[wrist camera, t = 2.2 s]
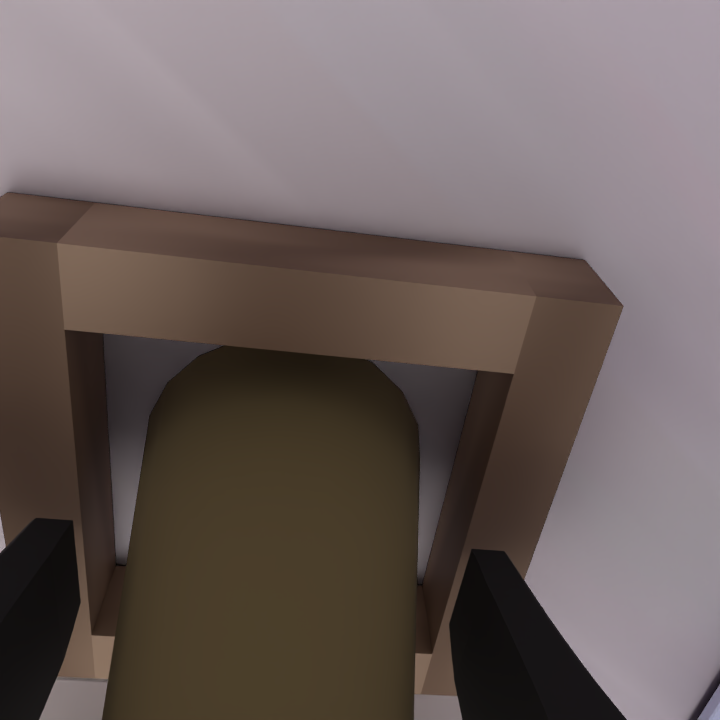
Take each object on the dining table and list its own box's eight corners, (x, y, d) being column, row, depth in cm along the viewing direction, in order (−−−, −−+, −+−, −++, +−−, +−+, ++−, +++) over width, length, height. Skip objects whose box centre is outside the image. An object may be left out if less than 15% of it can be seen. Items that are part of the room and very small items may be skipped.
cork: (99, 373, 14) (-378, 1239, 5) (387, 304, 14) (525, 1122, 4) (203, 573, 17) (46, 1346, 8) (443, 524, 17) (595, 1288, 7)
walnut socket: (584, 260, 13) (623, 306, 11) (466, 628, 18) (481, 697, 17) (7, 192, 12) (-47, 231, 10) (57, 603, 17) (27, 675, 16)
